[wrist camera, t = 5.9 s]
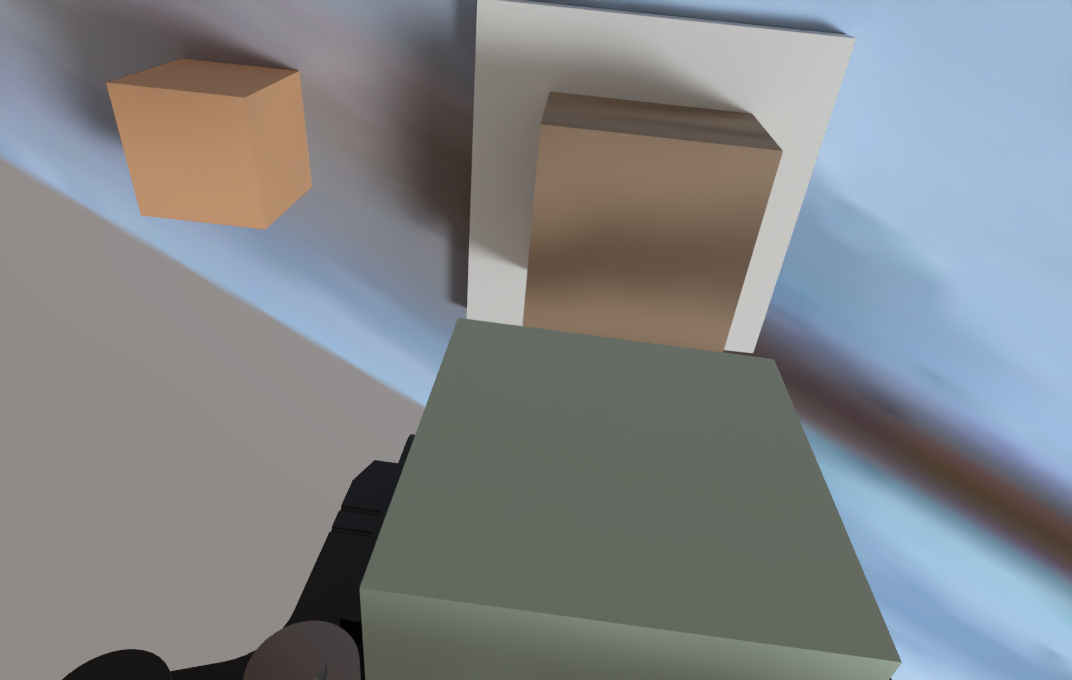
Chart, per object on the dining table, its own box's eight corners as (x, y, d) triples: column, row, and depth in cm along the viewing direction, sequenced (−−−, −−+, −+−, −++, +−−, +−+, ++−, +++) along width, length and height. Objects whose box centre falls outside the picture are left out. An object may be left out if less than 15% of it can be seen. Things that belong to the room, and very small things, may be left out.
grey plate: (481, -5, 25) (477, -2, 24) (847, 34, 24) (856, 38, 24) (470, 309, 32) (466, 319, 32) (749, 341, 32) (752, 353, 31)
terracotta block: (182, 57, 27) (106, 82, 23) (299, 70, 27) (244, 97, 23) (205, 174, 30) (141, 215, 26) (312, 186, 30) (265, 229, 25)
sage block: (458, 317, 10) (360, 587, 6) (773, 359, 10) (902, 662, 6) (446, 566, 13) (377, 857, 9) (686, 598, 13) (727, 906, 9)
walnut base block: (549, 91, 25) (540, 124, 21) (752, 113, 25) (783, 150, 21) (532, 271, 30) (522, 328, 26) (705, 291, 30) (723, 352, 25)
